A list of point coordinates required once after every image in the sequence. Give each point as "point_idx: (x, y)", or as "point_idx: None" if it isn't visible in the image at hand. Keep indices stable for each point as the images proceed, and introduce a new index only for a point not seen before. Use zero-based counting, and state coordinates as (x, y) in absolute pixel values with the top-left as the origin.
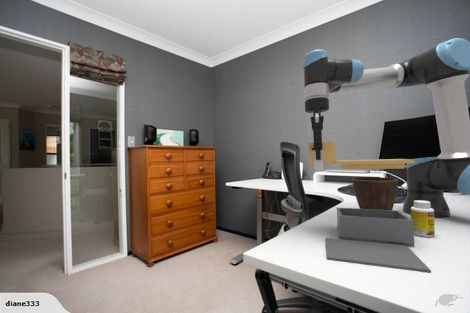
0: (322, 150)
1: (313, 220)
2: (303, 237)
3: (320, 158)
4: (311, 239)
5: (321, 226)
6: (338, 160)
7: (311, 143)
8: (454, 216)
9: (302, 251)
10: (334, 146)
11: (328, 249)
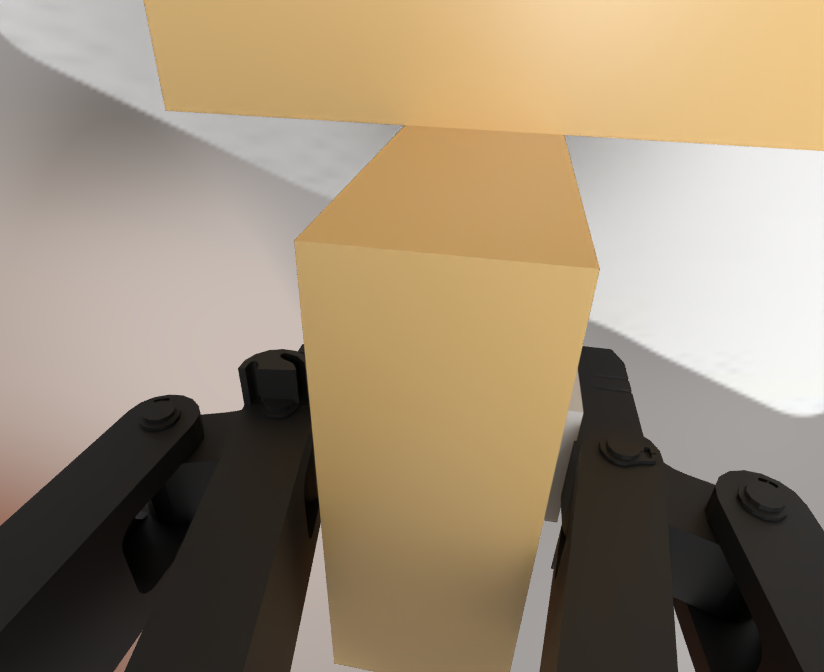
0: (581, 407)
1: (290, 166)
2: (609, 228)
3: (623, 364)
4: (636, 191)
5: (400, 127)
6: (346, 50)
7: (509, 653)
8: None
9: (800, 235)
10: (582, 221)
11: None
